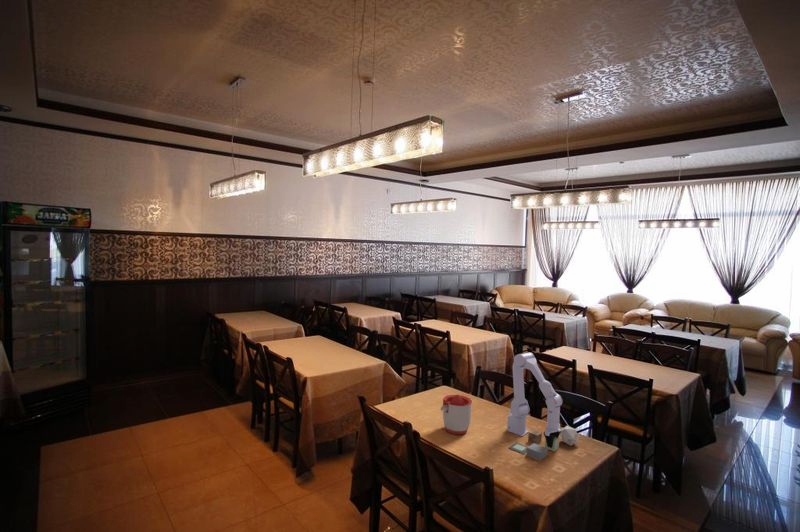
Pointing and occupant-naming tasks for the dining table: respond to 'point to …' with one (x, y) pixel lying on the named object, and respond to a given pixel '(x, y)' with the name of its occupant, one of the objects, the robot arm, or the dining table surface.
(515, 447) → the grey square plate
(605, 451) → the dining table surface
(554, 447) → the sage block
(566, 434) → the grey rock
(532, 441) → the walnut block
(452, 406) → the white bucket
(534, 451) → the slate base
